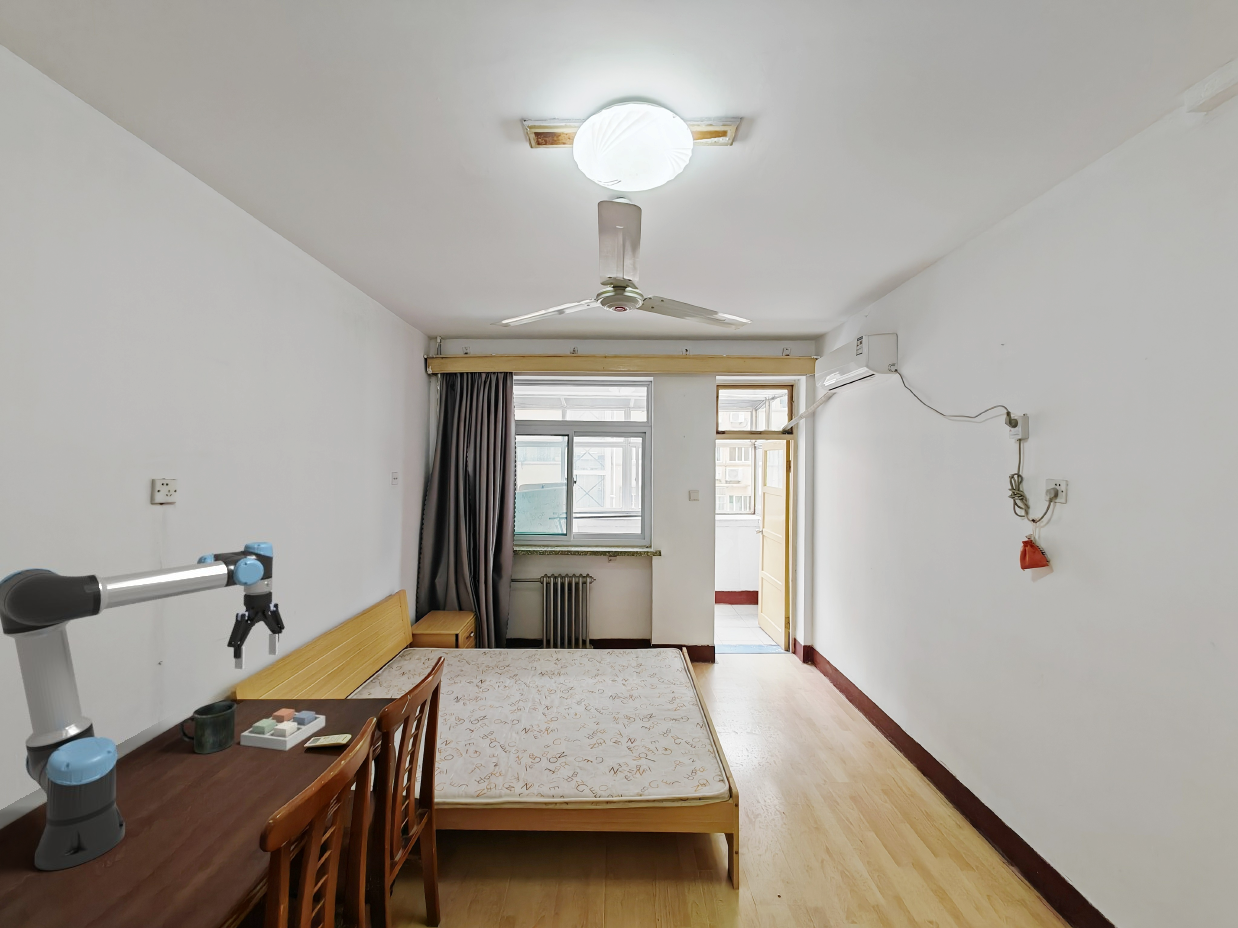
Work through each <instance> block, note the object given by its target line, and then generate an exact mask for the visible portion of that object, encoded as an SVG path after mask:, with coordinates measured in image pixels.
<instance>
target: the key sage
mask: <svg viewBox="0 0 1238 928" xmlns="http://www.w3.org/2000/svg"><path fill="white" fill-rule="evenodd" d="M274 727H276V720H270V719H269V718H263V719H261V720H259V721H258V722H256V723H254V724H252V727H251V728H252V733H257V734H266V733H268V732H270V731H271V730H273V729H274Z"/></svg>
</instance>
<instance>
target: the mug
mask: <svg viewBox="0 0 1238 928" xmlns="http://www.w3.org/2000/svg"><path fill="white" fill-rule="evenodd" d="M236 708H237V703H236V702H235V701H234V702H233V701H219V702H213V703H209V704H205V705H203V706H200V707H198V708H196V709H195V710H194V711H193V712H192V716H193V717H190V718H186V719H184V720H183V722H181V723H180V726H179V734H180V735H181V738H182V739H183V740H184V741H187V742H193V750H194V752H196V753H197V754H202V755H203V754H206V755H207V754H213V753H216V752H217V753H218V752H220V751H223V750H226V749H227V748H228V747H230V746H232V745H233V743H234V742H235V732H236V731H235V723H236V722H235V719H236V716H235V715H236V713H235V712H236ZM192 722H194V725H193V726H194V729H193V732H194V733H193V735H194V736H189V735H188V734H187V733H186V731H185V727H184V726H185V725H186V724H188V723H192Z"/></svg>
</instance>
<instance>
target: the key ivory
mask: <svg viewBox="0 0 1238 928" xmlns="http://www.w3.org/2000/svg"><path fill="white" fill-rule="evenodd" d="M295 731H297V723H296V722H287V721H285V722H283V723H281V724H279V725H278V726H276V727H274V736H281V737H287V736H289V735H290V734H292V733H293V732H295Z"/></svg>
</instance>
